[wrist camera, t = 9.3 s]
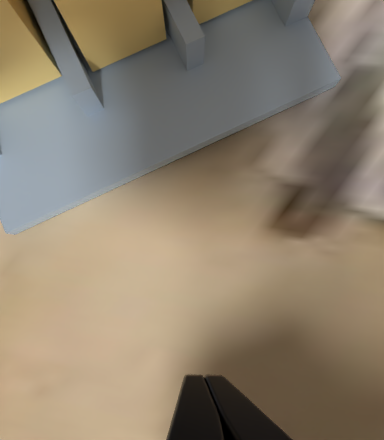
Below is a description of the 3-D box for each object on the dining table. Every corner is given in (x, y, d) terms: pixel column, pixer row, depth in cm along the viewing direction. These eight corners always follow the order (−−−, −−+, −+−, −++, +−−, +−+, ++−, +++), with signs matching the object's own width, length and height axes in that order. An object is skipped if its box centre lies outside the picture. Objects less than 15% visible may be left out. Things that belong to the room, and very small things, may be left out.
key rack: (334, 86, 21) (377, 33, 16) (15, 234, 20) (-44, 226, 15) (227, -111, 22) (236, -217, 18) (-75, 20, 22) (-155, -51, 17)
